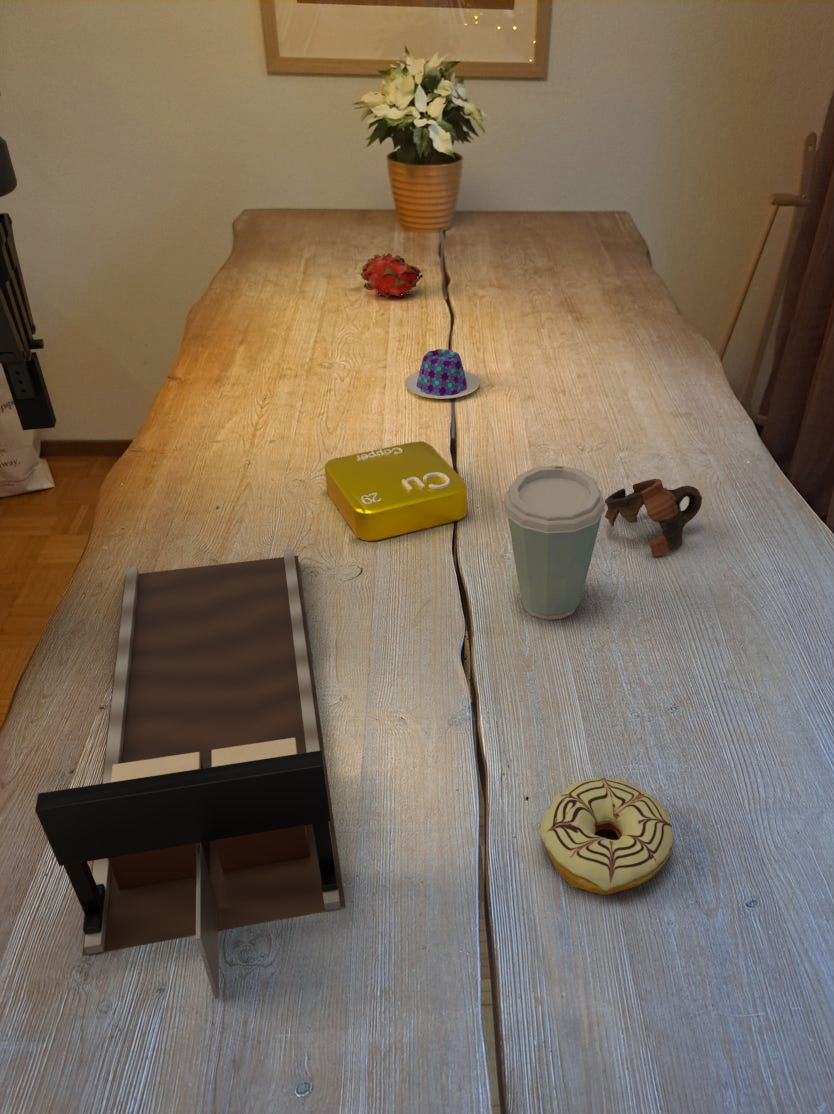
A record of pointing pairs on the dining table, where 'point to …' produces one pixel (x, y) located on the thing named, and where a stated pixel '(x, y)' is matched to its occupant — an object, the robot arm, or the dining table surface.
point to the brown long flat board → (212, 727)
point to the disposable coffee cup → (553, 536)
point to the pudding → (442, 376)
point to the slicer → (186, 825)
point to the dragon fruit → (390, 275)
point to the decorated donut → (599, 858)
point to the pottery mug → (657, 510)
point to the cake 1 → (162, 861)
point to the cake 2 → (262, 844)
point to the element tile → (395, 490)
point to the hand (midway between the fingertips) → (39, 425)
